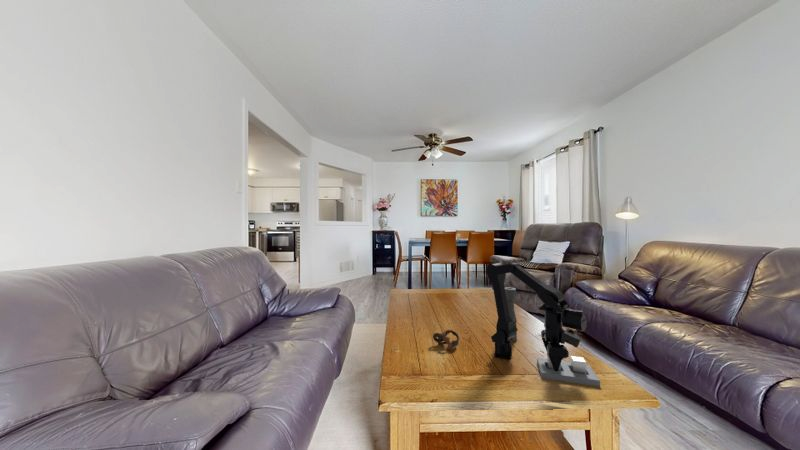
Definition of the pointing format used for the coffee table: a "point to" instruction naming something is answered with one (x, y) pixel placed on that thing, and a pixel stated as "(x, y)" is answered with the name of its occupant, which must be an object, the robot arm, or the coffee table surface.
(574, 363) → the block
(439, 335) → the brown looped piece
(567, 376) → the pallet
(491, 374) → the coffee table surface
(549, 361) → the billet
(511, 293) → the candle holder
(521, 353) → the coffee table surface
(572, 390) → the coffee table surface
